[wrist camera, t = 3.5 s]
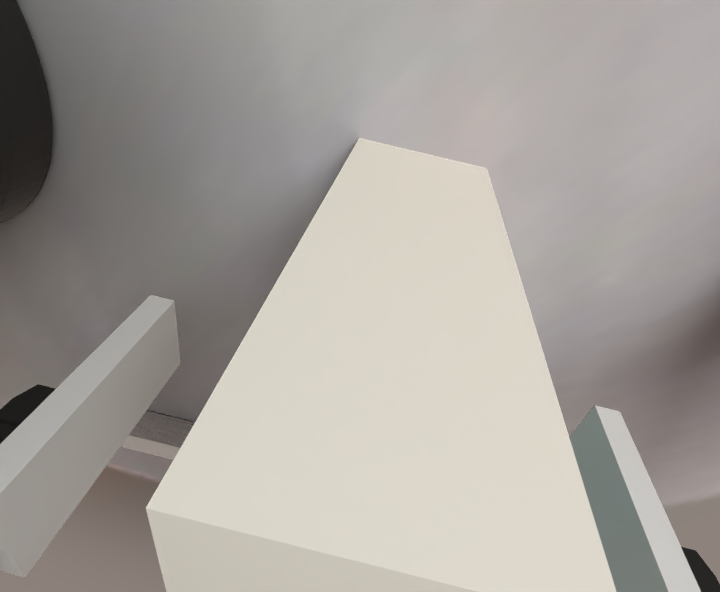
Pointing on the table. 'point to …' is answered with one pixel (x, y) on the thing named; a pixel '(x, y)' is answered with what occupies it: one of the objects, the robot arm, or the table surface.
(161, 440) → the rail
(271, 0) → the table surface
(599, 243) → the table surface
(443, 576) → the carton box
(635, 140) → the table surface
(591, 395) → the table surface
